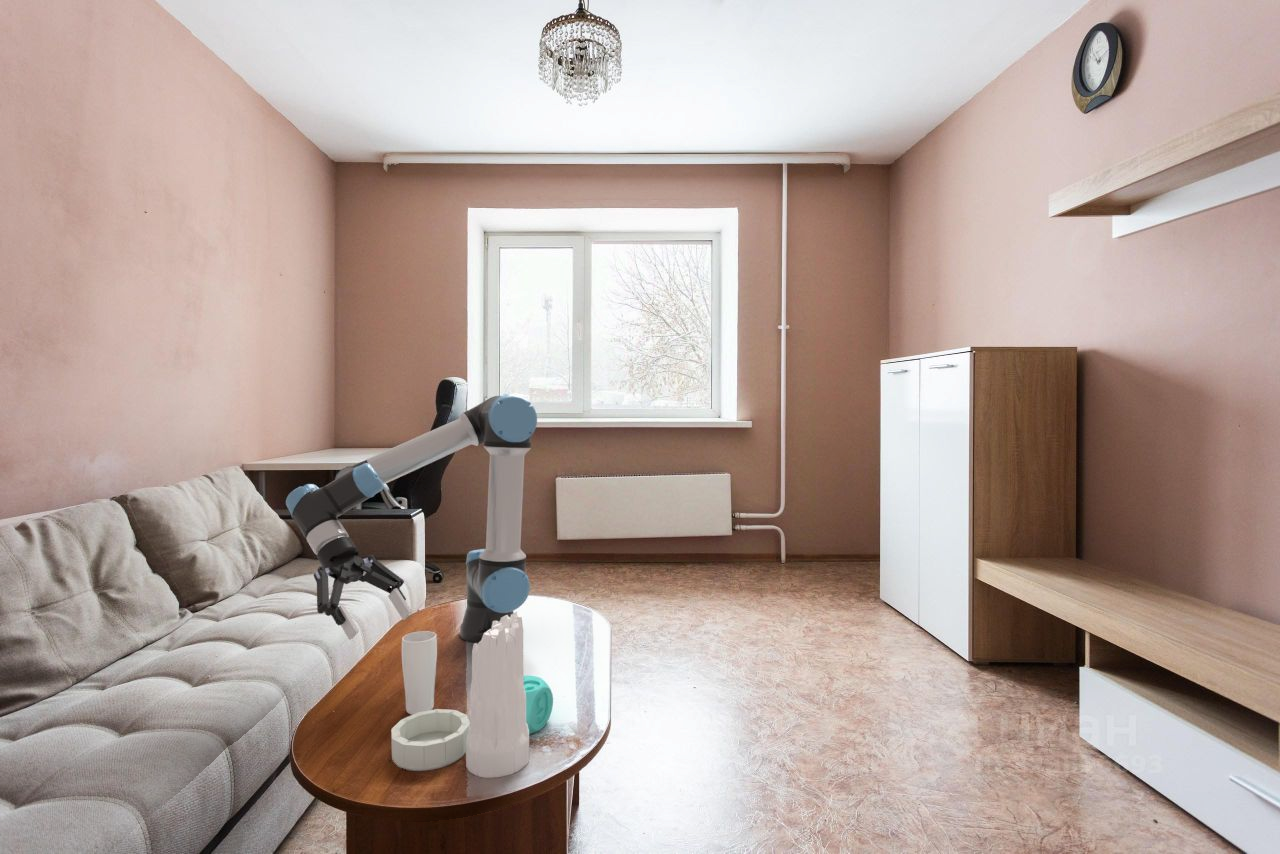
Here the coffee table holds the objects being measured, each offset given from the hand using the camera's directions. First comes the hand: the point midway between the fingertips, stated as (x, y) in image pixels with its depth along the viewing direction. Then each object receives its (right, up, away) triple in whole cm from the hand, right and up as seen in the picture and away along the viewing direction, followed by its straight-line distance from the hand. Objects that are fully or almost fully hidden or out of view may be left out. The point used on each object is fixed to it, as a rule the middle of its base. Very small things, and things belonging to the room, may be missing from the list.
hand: (382, 625), depth 131 cm
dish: (+17, -16, -19) cm, 30 cm away
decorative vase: (+29, -16, -22) cm, 40 cm away
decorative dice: (+31, -16, -10) cm, 37 cm away
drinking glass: (+9, -16, -4) cm, 19 cm away
